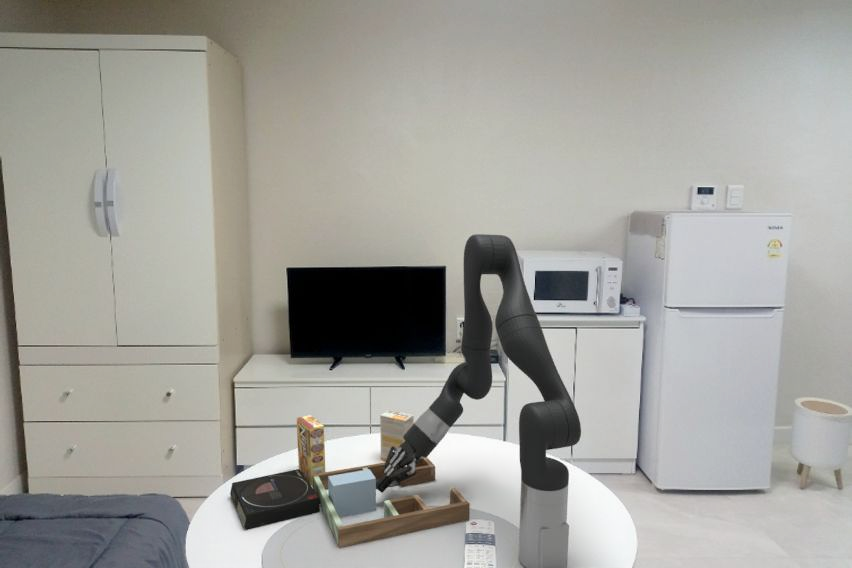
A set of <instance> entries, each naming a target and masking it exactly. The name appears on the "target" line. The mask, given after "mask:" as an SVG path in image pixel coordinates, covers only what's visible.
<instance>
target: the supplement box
mask: <svg viewBox="0 0 852 568" xmlns="http://www.w3.org/2000/svg"><path fill="white" fill-rule="evenodd" d="M379 416H380V417H379V419H380V421H379V422H380V423H379V424H380V460H381V459H382V460H381V461H384V462H386V459H387V457H388V454H389V451H390V449H391V447H392V446H394V447H395V448H399V446H400V445H401V444H402V443H404V442H405V440H404V438H403V436H404V434H405V433H406V432H407V431H408V430H409V429H410V427H411V426H412V425H413V424H414V423H415V421H414V417H415V416H414V415H413V414H409V413H404V412H401V411H395V410H391V409H389V410H387V411H385V412H383V413H382V414H380V415H379Z"/></svg>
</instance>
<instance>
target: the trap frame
mask: <svg viewBox="0 0 852 568" xmlns="http://www.w3.org/2000/svg"><path fill="white" fill-rule="evenodd" d="M385 462H386V461H384V462H379V463H373V464H367V465H362V466H355V467H349V468H343V469H338V470H332V471H327V472H326V471H325V473H319V474H313V486H312V488H313V489H314V491H315V492H316V493H317V495H318V496H319V498H320V508H321V509H320V510H322V513H323V515H324V516H325V520H326V521H327V524H328V526H329V529H330V530H331V533H332V534H333V536H334V539H335V541H336V543H337V546H338V548H339V549H340V548H344V547H345V548H346V547H349V546H353V545H359V544H364V543H368V542H373V541H378V540H382V539H383V540H384V539H386V538H387V539H388V538H390V537H397V536H401V535H405V534H410V533H415V532H419V531H424V530H428V529H433V528H438V527H443V526H447V525H451V524H456V523H462V522H467V521H469V520H470V510H471V508H470V507H471V505H470V502H469V501H468V500H467V499H466V498H465V496H463V495H462V493H461V492H459V490H458V489H457V488H456V487H451V488H450V489H449V490H450V491H449V504H445V505H440V506H435V507H431V508H429V507H428V506H427V504H426V503H425V502H424V500H423V498H421V497H420V495H419V494H413V495H408V496H404V497H397V498H393V499H388V500H384V501H383V517H381V518H376V519H375V518H374V519H372V520H367V521H361V522H356V523H351V524H345V525H343V523H342V521H341V519H340V518H341V517H340V518H339V516H338V514H337V512H336V510H335V508H334V506H333V504H332V502H331V500H330V498H329V496H328V492H327V491H328V476H333V475H339V474H344V473H350V472H356V471H362V470H368V469H370V471H371V472H372V474H373V475H374V476H375V478H376V483H377V482H378V480H379V479H380V478H381V477H382V476H383V475H384V473H385V472H384V471H385V468H384V464H385ZM415 470H416V471H417V473H416V475H414V476H412V477H410V478H408V479H406V480H404V481H401V482H399V483H398V482H397V481H393V482H392V483H391V484H390V485H389V486H388V488H392V487H395V486H396V487H397V486H399V487H400V488H405V487H410V486H415V485H421V484H425V483H426V484H427V483H431V482H436V466H435V464H434V463H433V462H432V461H431V460H430V459H429V458H428V456H427V457H426V458H425V457H423V456H422V457H421V458H420V459H419V461H418V463H417V464H416V465H415ZM326 490H327V491H326ZM376 490H378V489H377V488H376ZM466 520H467V521H466Z"/></svg>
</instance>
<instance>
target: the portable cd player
mask: <svg viewBox="0 0 852 568" xmlns="http://www.w3.org/2000/svg"><path fill="white" fill-rule="evenodd" d="M230 488H231V489H230V492H229V495H230V497H231V499H232V501H233V504H234V506H235V508H236V512H237V514H238V516H239V518H240V521H241V523H242V525H243V527H244V528H245V530H246V531H248V530H253V529H256V528H261V527H265V526H268V525H272V524H277V523H281V522H285V521H289V520H294V519H298V518H302V517H305V516H310V515H314V514H318V513H320V511H321V509H320V508H321V506H320V498H319V496H318V495H317V493H316V492H315V491H314V489H313V486H311V485H310V483H309V482H308V481H307V479H306V478H305V476H304V475H303V474H302V472H301V471H300V469H299V468H297V469H292V470H287V471H283V472H278V473H274V474H269V475H268V474H267V475H264V476H258V477H254V478H249V479H245V480H244V479H243V480H240V481H235V482H232V483H231V487H230Z"/></svg>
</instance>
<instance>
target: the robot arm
mask: <svg viewBox="0 0 852 568" xmlns="http://www.w3.org/2000/svg"><path fill="white" fill-rule="evenodd" d="M520 264H521V263H520V260H519V256H518V252H517V249H516V247H515V244H514V242H513V241H512V239H511V238H510V237H508V236H506V235H503V234H486V233H485V234H484V233H483V234H479V233H478V234H472V235H471V236H470V237H468V239H467V240H466V242H465V245H464V249H463V300H464V301H463V303H464V305H463V306H464V313H463V315H464V318H463V319H464V320H463V328H462V329H463V330H462V337H461V344H460V351H461V354H462V356H463V358H464V359H465V362H461V363H459V364H458V365H455V367H454V368H453V369H452V371H451V372H450V374H449V376H448V377H447V380H446V381H445V384H444V385H443V387H442V389H441V391H440V393H439V395H438V397H436V399H435V400H434V401H433V402H432V404H430V406H429V407H428V408H427V409H426V410H425V411H424V412H423V413H422V414H420V415H419V416H418V418H417V419H416V420H415V421H414V424H413V425H412V426H411V427H410V429H409V430H408V431H407V432H406V433H405V434H404V436H403V438H404V440H405V442H404V443H402V444H401V445H400V446H399V448H395V447H394V446H392V447H391V449H390V451H389V454H388V457H387V459H386V461H384V462H385V464H384V468H385V471H384V472H385V473H384V475H383V476H382V477H381V478H380V479H379V480H378V482H377V483H376V488H377V489H376V490H378V491H379V492H380V493H384V492H385V491H386V490H387V489H388V488H389V487H388V486H389V485H390V484H391V483H392V482H393V481H397V482H398V483H399V482H401V481H404V480H406V479H408V478H410V477H412V476H414V475H416V473H417V471H416V470H415V465H416V464H417V463H418V461H419V459H420V458H421V457H422V456H423V457H425V458H426V457H427V458H428V456H429V455H430V454H431V453H432V452H433V450H434V449H435V448H436V447H437V446H438V445H439V443H441V442H442V440H443V439H444V438H445V436H446V435H447V433H448V432H449V431H450V429H451V427H452V426H453V425H454V424H455V423H456V422H457V420H458V419H460V417H461V416H462V415H463V413H464V407H463V405H462V403H461V400H462V397H463V395H466V396H467V397H469V398H470V399H472V400H478V401H479V400H482V399H484V398H485V397H487V395H488V394H489V392H490V390H491V388H492V386H493V385H492V383H493V368H492V361H491V359H492V358H491V354H490V352H491V347H492V346H491V345H492V338H493V329H494V327H495V329H496V330H495V331H496V333H497V337H498V339H499V342H500V346H501V348H502V350H503V353H504V355H505V356H506V357H507V358H508V359H509V360H510V361H511V362H512V364H513V365H514V366H515V367H516V368H518V369H519V370H520V371H521V372H522V373H523V374H524V375H525V376H526V377H528V379H530V380H531V381H532V383H533V384H535V386H536V388H537V389H538V390H539V393H540V394H541V396H542V399H543V401H537V402H529V403H526V404H523V406H522V407H521V410H520V413H519V417H518V419H519V420H518V434H519V435H518V436H519V438H518V439H519V440H518V441H519V443H518V444H519V464H520V476H521V477H520V481H521V482H520V498H519V499H520V504H519V527H518V528H519V532H518V533H519V535H518V561H519V563H520V564H521V565H522V566H523V567H525V568H568V557H569V535H570V525H569V523H568V522H567V521H568V499H569V498H568V497H569V480H570V479H569V477H570V473H569V469H568V466H566V464H564V463H563V462H561V461H560V460H557V459H555V458H553V457H549V456H547V451H549V450H556V449H562V448H568V447H573V446H576V445H577V444H578V443H579V441H580V439H581V436H582V426H581V421H580V417H579V413H578V411H577V408H576V406H575V404H574V402H573V400H572V397H571V396H570V393H569V392H568V389H567V387H566V386H565V384H564V381H563V380H562V376H561V375H560V373H559V371H558V369H557V366H556V365H555V362H554V359H553V357H552V353H551V351H550V349H549V347H548V346H549V345H548V343H547V340H546V338H545V335H544V332H543V329H542V326H541V323H540V321H539V318H538V315H537V313H536V312H535V308H534V305H533V304H532V300H531V298H530V295H529V292H528V289H527V286H526V284H525V280H524V276H523V271H522V268H521V265H520ZM482 275H497V276H498V277H499V279H500V281H501V285H502V291H503V294H502V298H501V300H500V303H499V306H498V309H497V311H496V316H495V320H494V322H495V323H494V324H495V326H494V325H493V320H492V316H491V314H490V311H489V309H488V307H487V305H486V302H485V300H484V298H483V294H482V291H481V281H482ZM493 326H494V327H493Z"/></svg>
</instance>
